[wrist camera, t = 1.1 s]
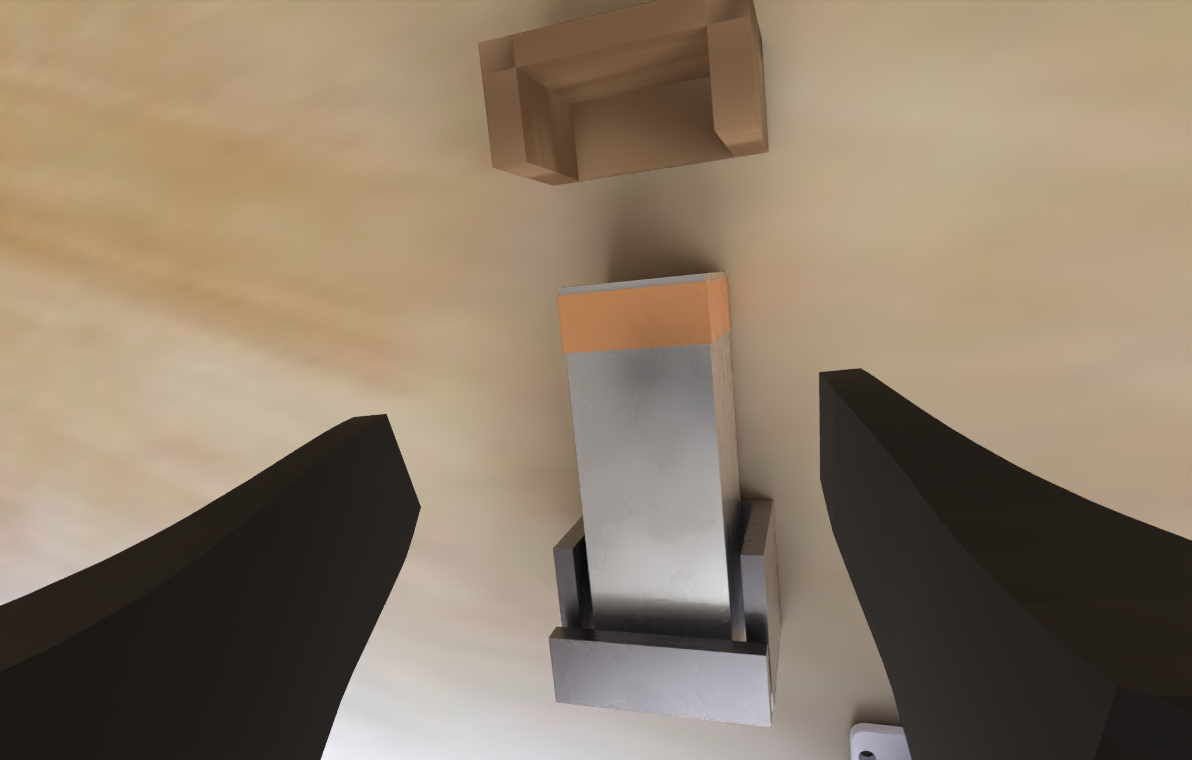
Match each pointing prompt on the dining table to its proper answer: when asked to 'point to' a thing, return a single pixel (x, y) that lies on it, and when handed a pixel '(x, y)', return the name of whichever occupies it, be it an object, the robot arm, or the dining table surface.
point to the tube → (657, 453)
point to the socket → (627, 91)
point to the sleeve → (672, 643)
